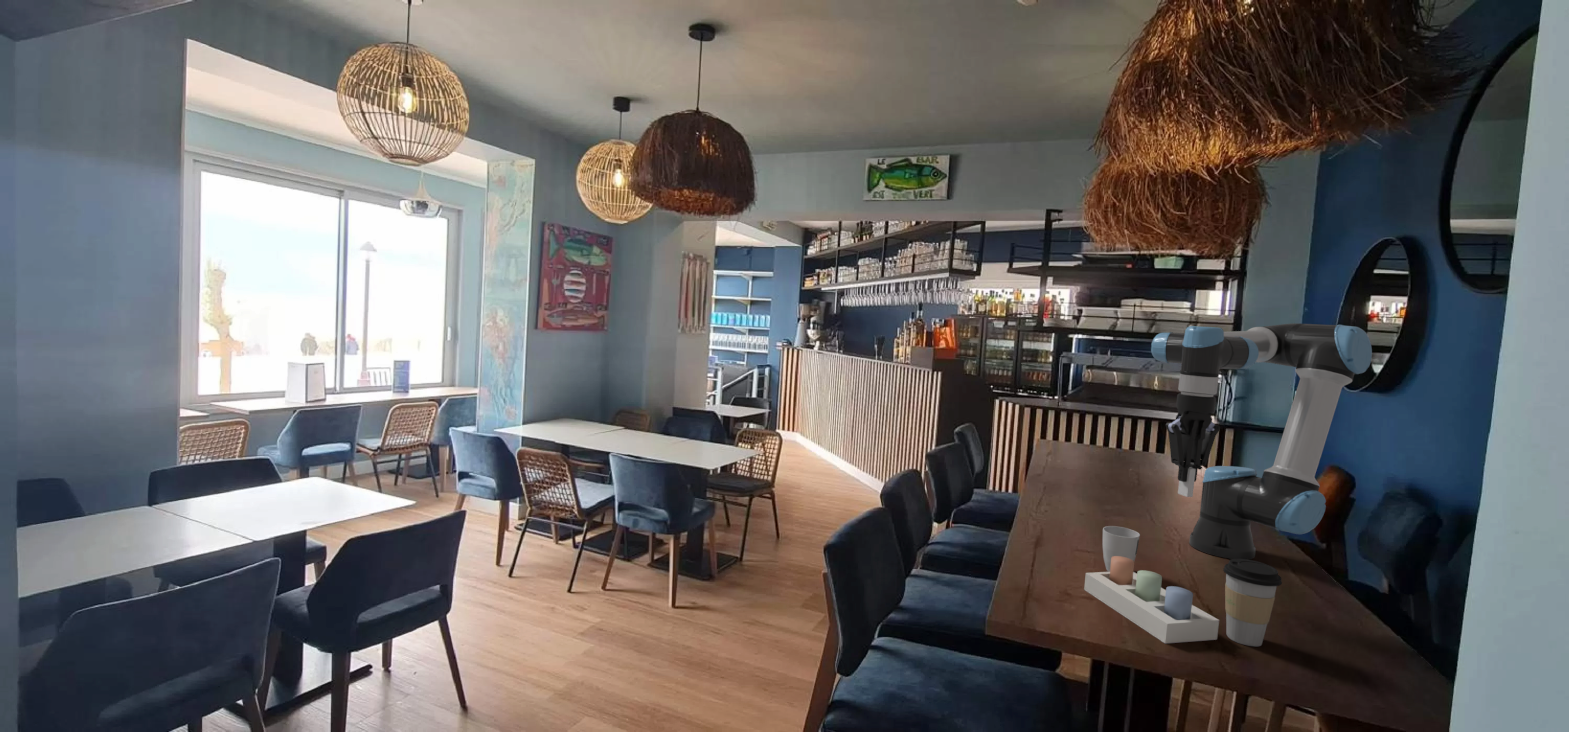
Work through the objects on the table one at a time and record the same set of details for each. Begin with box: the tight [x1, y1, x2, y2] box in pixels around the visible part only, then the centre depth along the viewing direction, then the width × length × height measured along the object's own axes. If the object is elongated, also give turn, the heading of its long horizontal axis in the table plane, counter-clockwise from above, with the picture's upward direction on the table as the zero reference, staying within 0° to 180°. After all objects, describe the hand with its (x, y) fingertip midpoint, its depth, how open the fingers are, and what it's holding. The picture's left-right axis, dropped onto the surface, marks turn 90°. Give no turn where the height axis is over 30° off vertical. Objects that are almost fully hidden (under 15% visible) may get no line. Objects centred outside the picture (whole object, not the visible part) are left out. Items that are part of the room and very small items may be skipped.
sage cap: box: [1135, 569, 1163, 602], centre depth 140 cm, size 5×5×5 cm
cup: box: [1102, 525, 1141, 572], centre depth 163 cm, size 8×8×10 cm
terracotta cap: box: [1109, 556, 1135, 585], centre depth 148 cm, size 5×5×5 cm
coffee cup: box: [1222, 559, 1283, 647], centre depth 130 cm, size 9×9×15 cm
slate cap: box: [1164, 585, 1194, 620], centre depth 132 cm, size 5×5×5 cm
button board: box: [1083, 571, 1220, 644], centre depth 140 cm, size 12×24×4 cm, turn 12°
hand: (1185, 495), depth 153 cm, fingers closed
